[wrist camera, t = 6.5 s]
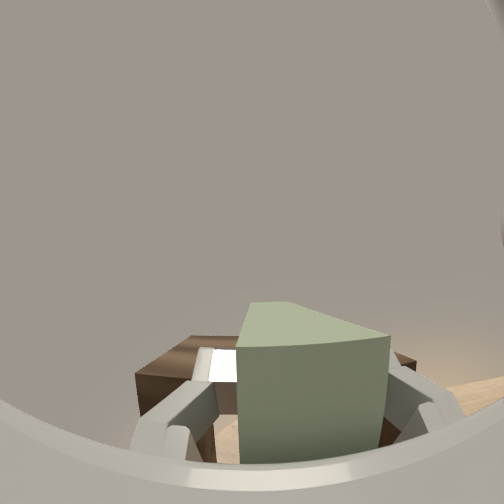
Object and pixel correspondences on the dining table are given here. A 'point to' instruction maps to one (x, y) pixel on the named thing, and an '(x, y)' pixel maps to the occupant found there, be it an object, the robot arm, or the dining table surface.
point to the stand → (181, 370)
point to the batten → (308, 385)
